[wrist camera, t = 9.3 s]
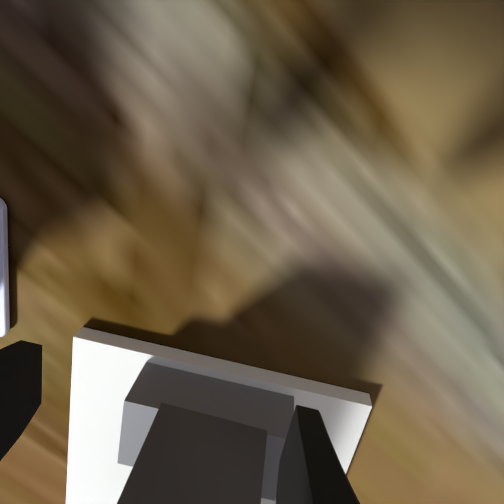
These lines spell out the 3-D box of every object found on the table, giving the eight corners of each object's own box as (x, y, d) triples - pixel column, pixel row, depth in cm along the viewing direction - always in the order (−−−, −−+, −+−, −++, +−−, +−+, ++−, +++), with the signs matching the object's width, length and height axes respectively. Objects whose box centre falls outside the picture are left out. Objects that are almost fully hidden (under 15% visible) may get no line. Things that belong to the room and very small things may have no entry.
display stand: (72, 512, 29) (38, 575, 25) (82, 326, 23) (40, 372, 19) (302, 568, 28) (302, 641, 24) (369, 393, 23) (382, 453, 19)
